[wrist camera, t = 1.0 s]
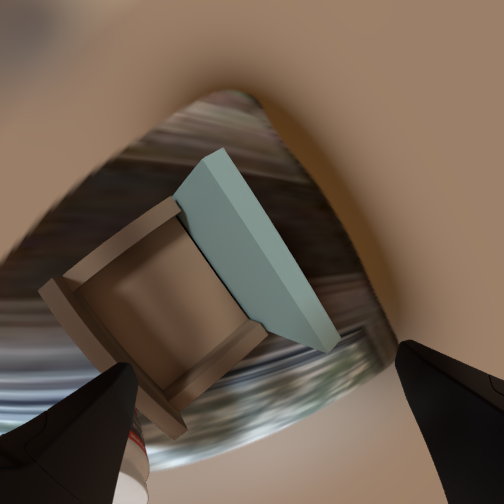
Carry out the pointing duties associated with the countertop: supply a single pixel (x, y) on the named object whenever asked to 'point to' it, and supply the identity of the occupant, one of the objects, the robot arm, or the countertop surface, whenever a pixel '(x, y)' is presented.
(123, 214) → the countertop surface
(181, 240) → the wooden open crate
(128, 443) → the pill bottle
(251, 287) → the pale green rectangular panel
